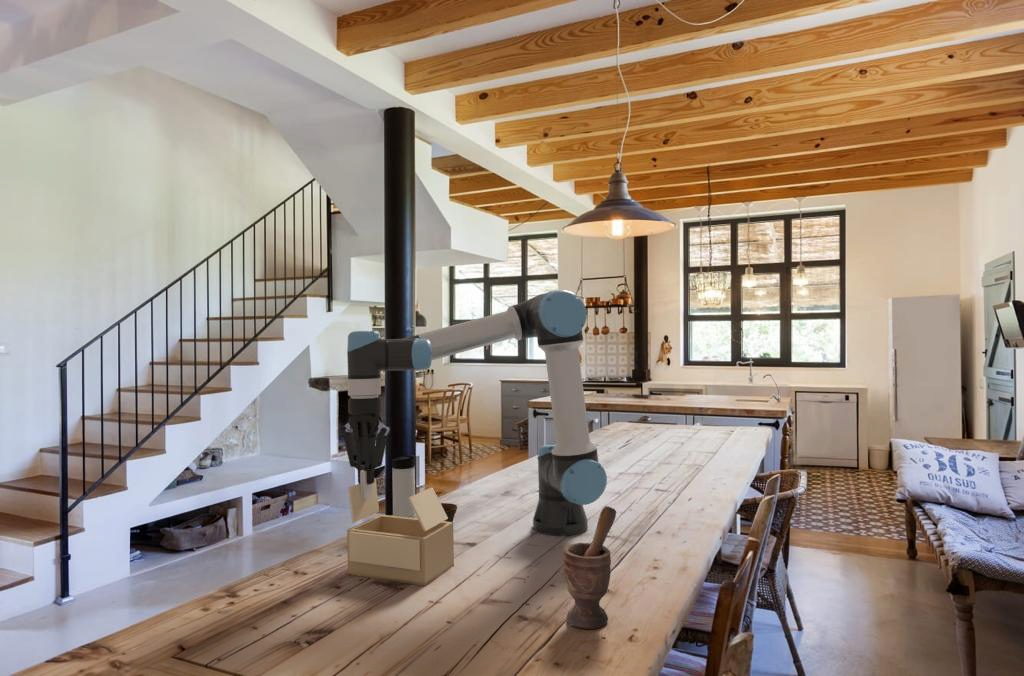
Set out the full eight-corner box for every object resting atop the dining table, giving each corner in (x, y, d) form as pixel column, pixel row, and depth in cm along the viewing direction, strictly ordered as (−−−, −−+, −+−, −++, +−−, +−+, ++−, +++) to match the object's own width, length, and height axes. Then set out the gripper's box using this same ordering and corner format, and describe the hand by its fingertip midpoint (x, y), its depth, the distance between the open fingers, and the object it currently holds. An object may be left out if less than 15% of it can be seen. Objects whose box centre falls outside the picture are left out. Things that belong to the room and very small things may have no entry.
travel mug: (412, 529, 174) (410, 457, 174) (389, 528, 175) (388, 457, 175) (419, 523, 180) (418, 453, 180) (398, 522, 181) (397, 453, 181)
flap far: (353, 522, 142) (350, 487, 142) (352, 522, 142) (348, 487, 142) (379, 511, 151) (375, 478, 151) (377, 511, 151) (373, 478, 152)
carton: (455, 564, 146) (454, 521, 146) (423, 587, 132) (422, 540, 132) (382, 554, 153) (382, 513, 153) (345, 575, 140) (345, 530, 140)
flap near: (446, 519, 144) (430, 488, 146) (448, 518, 144) (432, 487, 145) (424, 531, 135) (407, 498, 136) (426, 530, 135) (409, 497, 136)
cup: (466, 535, 165) (462, 499, 164) (452, 550, 157) (447, 512, 156) (436, 533, 168) (431, 498, 167) (420, 549, 160) (416, 511, 159)
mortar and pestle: (582, 601, 124) (580, 500, 124) (624, 610, 119) (622, 505, 120) (557, 625, 114) (555, 515, 114) (601, 635, 109) (599, 521, 109)
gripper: (396, 395, 148) (398, 496, 147) (351, 395, 152) (353, 492, 152) (378, 398, 141) (380, 503, 140) (332, 397, 146) (333, 499, 145)
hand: (366, 497), depth 146 cm, fingers closed
